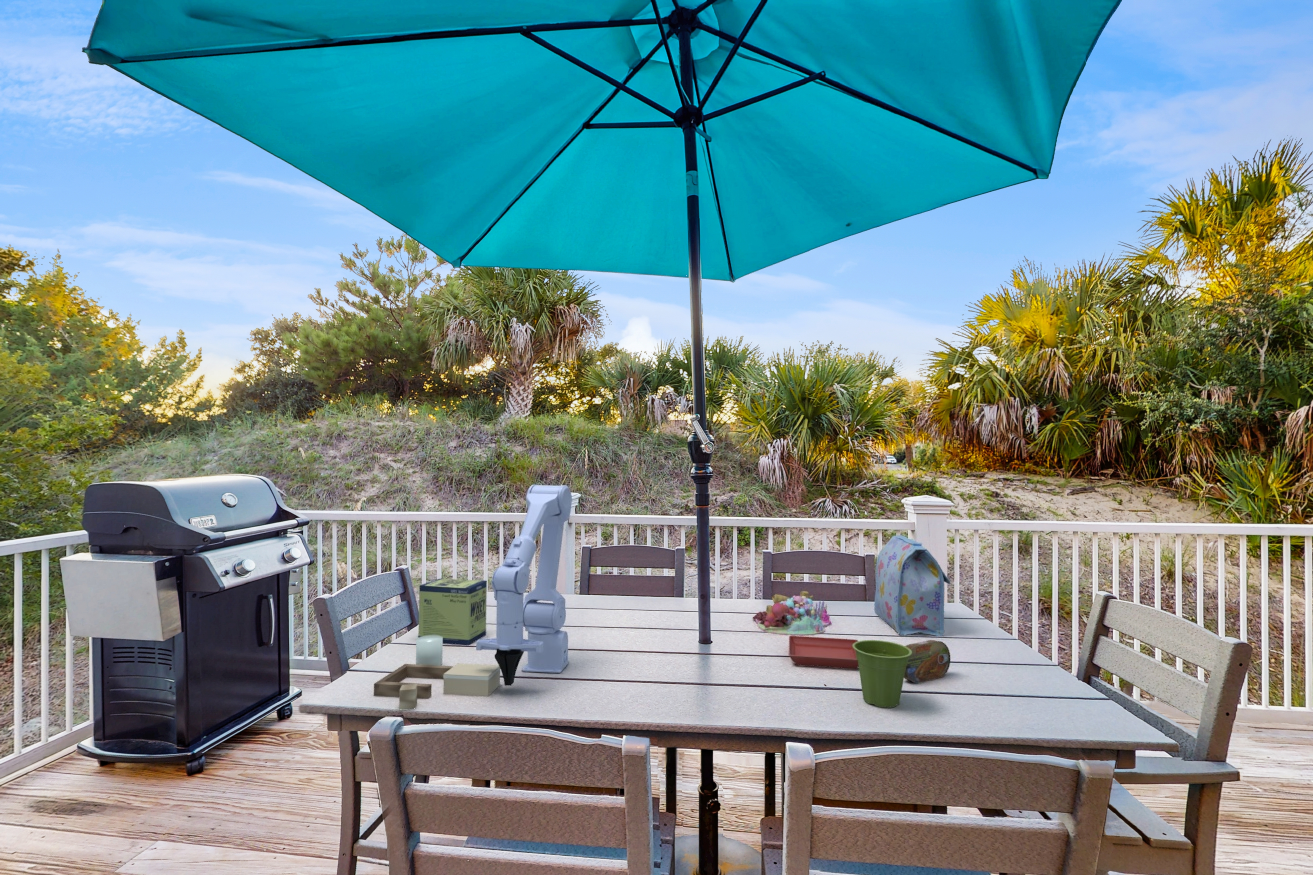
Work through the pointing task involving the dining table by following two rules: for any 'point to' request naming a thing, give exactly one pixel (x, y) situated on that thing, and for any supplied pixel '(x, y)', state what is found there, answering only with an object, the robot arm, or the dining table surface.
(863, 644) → the plant pot
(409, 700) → the beech block
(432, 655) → the dome-topped pale cylinder
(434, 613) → the protein box
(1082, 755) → the dining table surface
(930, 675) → the tin
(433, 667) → the brown square frame
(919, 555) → the lunch bag
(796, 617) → the coral reef model
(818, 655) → the plant saucer
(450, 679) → the beige rectangular block
